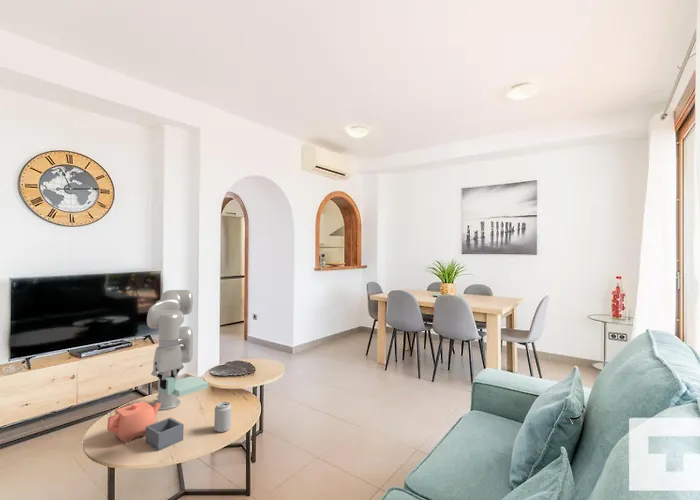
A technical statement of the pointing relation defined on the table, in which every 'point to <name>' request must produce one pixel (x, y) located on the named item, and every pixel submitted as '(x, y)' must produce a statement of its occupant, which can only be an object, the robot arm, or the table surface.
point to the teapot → (132, 420)
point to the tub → (164, 433)
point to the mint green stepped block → (183, 386)
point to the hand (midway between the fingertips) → (167, 386)
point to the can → (222, 417)
